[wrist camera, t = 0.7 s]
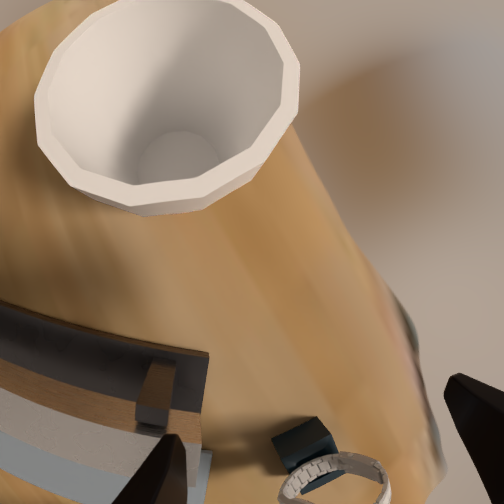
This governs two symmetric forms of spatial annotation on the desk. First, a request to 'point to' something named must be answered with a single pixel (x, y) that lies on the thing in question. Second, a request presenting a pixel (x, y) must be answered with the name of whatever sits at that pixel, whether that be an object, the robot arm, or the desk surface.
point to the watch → (321, 462)
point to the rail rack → (105, 363)
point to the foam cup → (166, 102)
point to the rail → (87, 424)
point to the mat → (78, 474)
